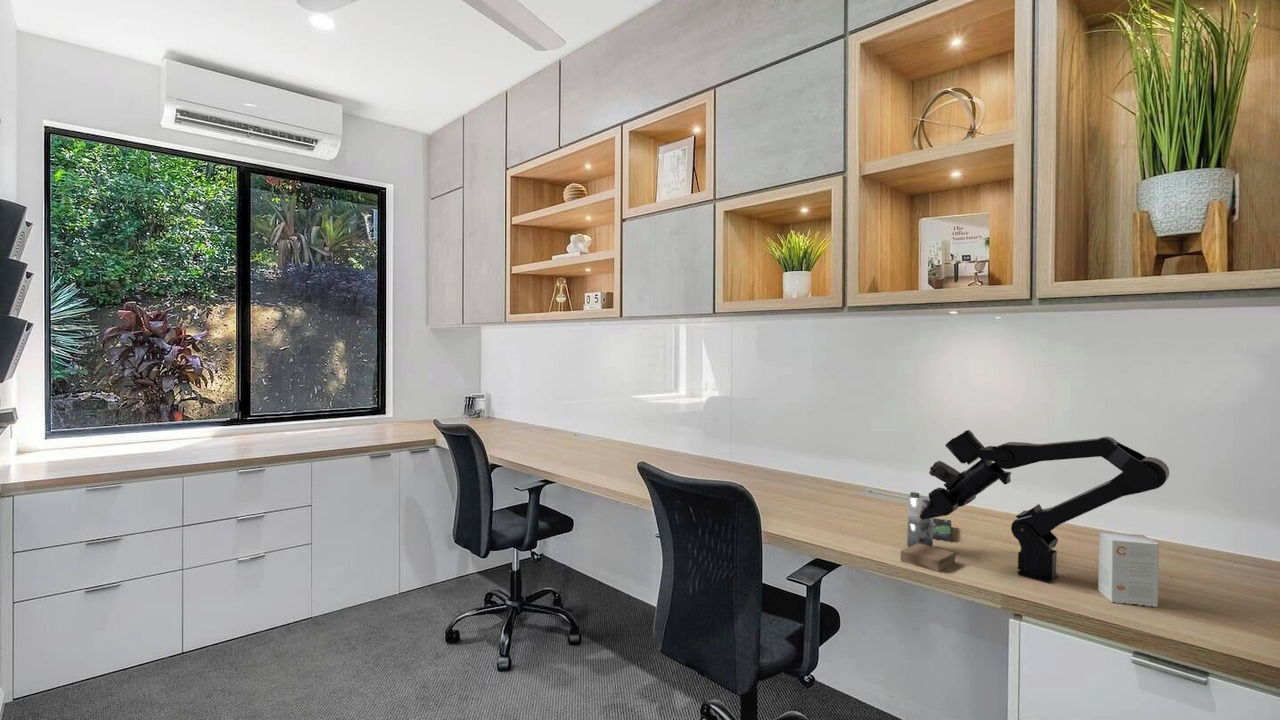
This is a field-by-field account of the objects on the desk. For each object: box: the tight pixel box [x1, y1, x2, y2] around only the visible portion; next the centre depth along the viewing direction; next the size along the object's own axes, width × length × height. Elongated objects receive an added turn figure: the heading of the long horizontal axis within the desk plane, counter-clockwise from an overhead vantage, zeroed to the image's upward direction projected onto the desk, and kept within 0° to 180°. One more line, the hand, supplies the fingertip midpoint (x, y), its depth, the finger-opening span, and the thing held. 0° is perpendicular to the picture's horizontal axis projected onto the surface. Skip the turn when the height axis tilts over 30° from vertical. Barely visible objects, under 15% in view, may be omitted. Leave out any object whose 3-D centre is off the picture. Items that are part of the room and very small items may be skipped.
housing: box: [906, 491, 934, 548], centre depth 155 cm, size 6×6×14 cm
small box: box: [1097, 531, 1160, 608], centre depth 124 cm, size 8×6×13 cm
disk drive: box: [933, 517, 952, 543], centre depth 168 cm, size 10×3×15 cm
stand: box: [900, 543, 956, 573], centre depth 144 cm, size 9×9×2 cm
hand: (927, 514), depth 153 cm, fingers open, 9 cm apart
